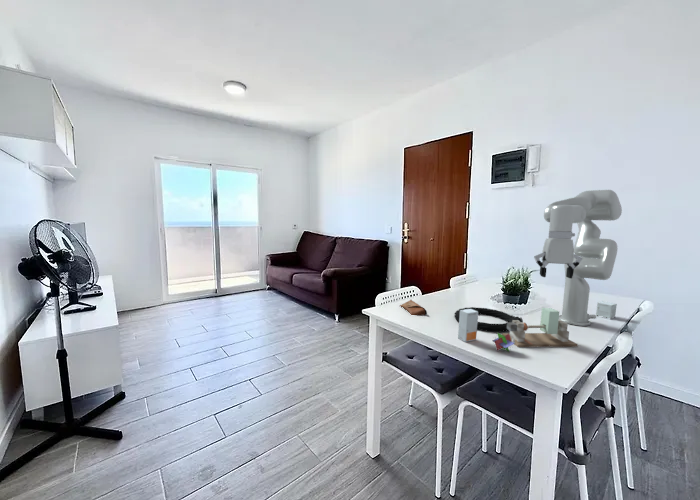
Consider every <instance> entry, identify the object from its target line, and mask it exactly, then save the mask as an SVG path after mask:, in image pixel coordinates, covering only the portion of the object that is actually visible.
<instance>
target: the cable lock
mask: <svg viewBox="0 0 700 500" xmlns="http://www.w3.org/2000/svg"><path fill="white" fill-rule="evenodd" d="M465 309H473V310H475V311H478V315H482V316H489V317H490V316H491V317H493V318H498V319H500V320H502V321H506V322H505V323H489V322H484V321H483V322H482V321H478V322H477V331H478V330H479V331H483V332H484V331H485V332H493V333H494V332H495V333H497V332H498V333H503V332H504V333H506V332H510V330H508V329H507V322H512V320H519V321H520V322H522V323H524V320H523V319H524V318H522V317H521V316H520V317H519V316H515V315H513V314H509V313H507V312H505V311H502V310H497V309H491V308H486V307H475V306H474V307H473V306H472V307H470V306H469V307H464V308H459V309H457V310H456V311H455V312H454V318H455V320H456V321H457V322H458V323H459V316H460V310H465Z"/></svg>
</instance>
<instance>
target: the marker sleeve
mask: <svg viewBox="0 0 700 500" xmlns="http://www.w3.org/2000/svg"><path fill="white" fill-rule="evenodd" d="M559 315H560V311H559V310H558V309H557V310H556V309H555V308H553V307H541V314H540V324H539V325H546V328H539V331H541V332H543V333H547V334H557V331H558V321H559Z"/></svg>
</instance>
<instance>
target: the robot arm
mask: <svg viewBox="0 0 700 500" xmlns="http://www.w3.org/2000/svg"><path fill="white" fill-rule="evenodd" d="M622 211H623V210H622V205H621V201H620V199H619V196H618V194H617V193H616V191H614V190H612V189H597V190H596V189H595V190H585V191H581V192H580V193H579V194H577V195H576V196H574V197H570V198H565V199H561V200H558V201H557V200H556V201H554V202H552V203H550V204H548V205H547V207H546V208H545V209H544V211H543V218H544V220H545V222H547V223H549V228H548V238H545V241H544V243H543V244H544V245H543V247H542V252H540V253H538V254H536V255H534V257H533V259H534V260H535V262H536V264H537V265H538V267H539V275H540V277H542V278H546V277H547V266H548V265H549V264H559V265H560V264H562V265H564V278H565V279H564V292H563V300H562V301H563V302H562V308H561V309H562V310H561V314H559V320H561V321H563V322H566V323H568V324H569V325H573V326H579V327H585V326H586V327H587V326H588V327H589V326H590V325H591V321H590V319H593V320H595V319H597V316H596V314H590V313H588V308H589V299H590V290H591V287H590V285H589V283H588V281H587V280H586V279H591V280H592V279H593V280H598V281H599V280H600V281H607V280H609V279H610V278H611V277H612V273H613V271H614V266H615V263H616V260H617V255H618V244H617V242H616V241H615V240H614V239H610V238H600V237H601V234H602V232H601V229H600V228H599V226H598V225H597V224H595V223H594V222H593V221H610V222H611V221H617V220H619V219H620V218H621V215H622V213H623V212H622ZM573 224H577V226H578V233H577V237H576V239H575V242H574V239H572V238H573V237H575V236H576V234H575V233H574V232H573ZM540 258H541V259H540Z"/></svg>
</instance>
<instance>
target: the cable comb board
mask: <svg viewBox="0 0 700 500" xmlns="http://www.w3.org/2000/svg"><path fill="white" fill-rule="evenodd" d="M506 323H507V329H508V330H510V331H509V332H507V333H506V332H504V333H503V332H501V334H502V335H504V336H505V335H506V334H508V333H509V334H510V335H511V336H512V337H513V338H514V340H515V344H513V345H514V346H515V347H517V348H553V347H555V348H564V347H565V348H567V347H569V348H571V347H573V348H574V347H577V348H578V345H579V344H578V343H576V342H574V341H572V340H570V339H569V338H570V331H568V323H566V322H563V321H561V320H559V321H558V331H557V334H547V333H545V332H543V333H541V332H537V333H536V332H534V333H533V332H529V333H528V332H527V333H526V331H528V329H540V328H546V325H540V324H539V325H534V324H533V325H532V324H531V325H529V324H527V323H526V322H523V323H522V322H520V321H519V320H512V322H507V321H506ZM511 336H510V338H511V342H512V337H511Z"/></svg>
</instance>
